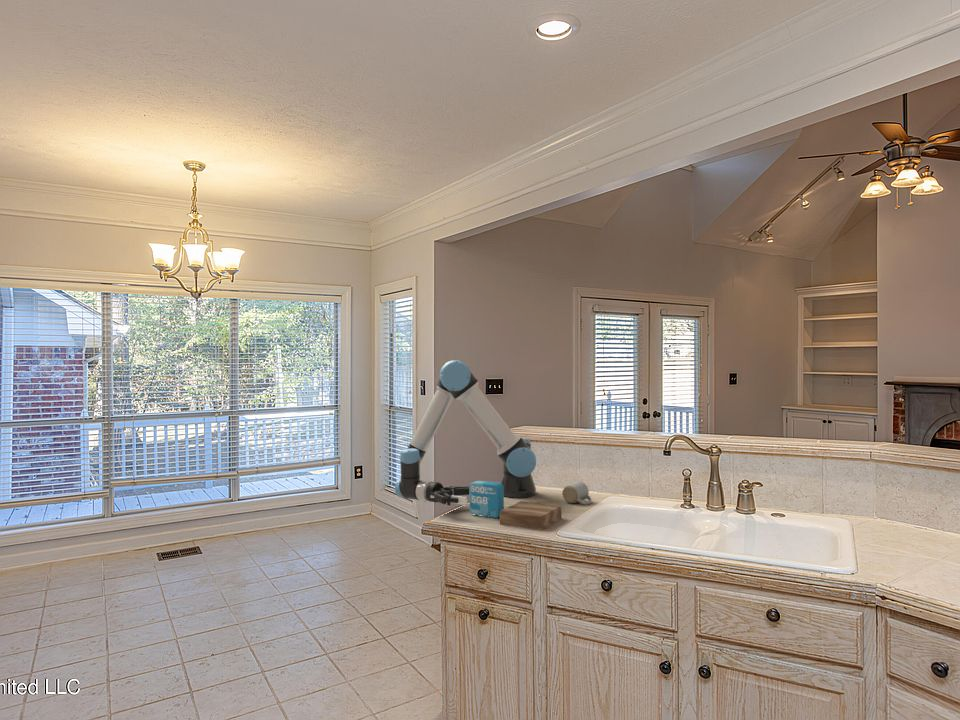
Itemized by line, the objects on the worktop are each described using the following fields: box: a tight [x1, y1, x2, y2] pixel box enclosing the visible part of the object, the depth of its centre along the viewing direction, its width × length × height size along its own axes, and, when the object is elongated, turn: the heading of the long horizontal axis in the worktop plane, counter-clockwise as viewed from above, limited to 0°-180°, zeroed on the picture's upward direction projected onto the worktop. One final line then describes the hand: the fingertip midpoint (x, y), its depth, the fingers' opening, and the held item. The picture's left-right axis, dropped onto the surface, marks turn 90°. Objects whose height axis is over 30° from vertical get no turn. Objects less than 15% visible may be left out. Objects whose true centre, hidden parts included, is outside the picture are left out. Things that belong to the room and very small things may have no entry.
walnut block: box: [499, 500, 563, 531], centre depth 212 cm, size 16×16×5 cm
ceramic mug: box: [562, 480, 592, 506], centre depth 237 cm, size 11×8×8 cm
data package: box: [468, 480, 505, 519], centre depth 221 cm, size 12×4×12 cm, turn 61°
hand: (477, 497), depth 223 cm, fingers open, 13 cm apart
